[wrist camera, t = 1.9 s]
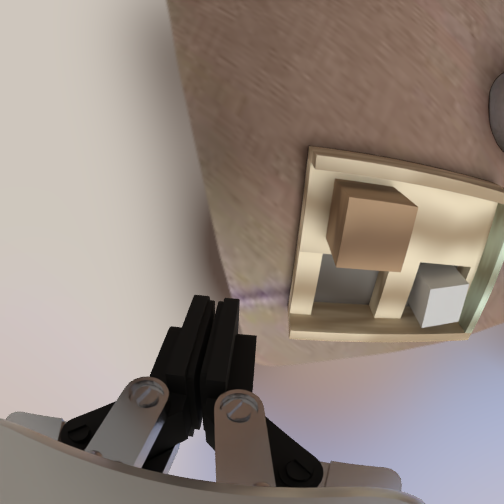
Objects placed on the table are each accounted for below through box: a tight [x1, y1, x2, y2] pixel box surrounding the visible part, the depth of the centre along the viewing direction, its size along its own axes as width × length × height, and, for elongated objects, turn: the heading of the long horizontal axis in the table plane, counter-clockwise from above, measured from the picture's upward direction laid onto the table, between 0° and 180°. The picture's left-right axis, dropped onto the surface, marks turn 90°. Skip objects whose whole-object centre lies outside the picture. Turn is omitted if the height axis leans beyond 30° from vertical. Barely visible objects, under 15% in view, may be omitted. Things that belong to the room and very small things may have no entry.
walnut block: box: [326, 178, 418, 272], centre depth 22 cm, size 5×5×5 cm
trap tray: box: [288, 146, 504, 342], centre depth 26 cm, size 16×20×5 cm
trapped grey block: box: [407, 263, 469, 328], centre depth 27 cm, size 4×4×4 cm
